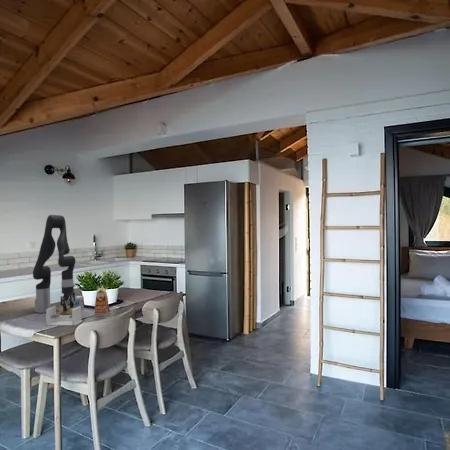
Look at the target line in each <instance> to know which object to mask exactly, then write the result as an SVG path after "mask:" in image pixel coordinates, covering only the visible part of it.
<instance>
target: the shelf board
mask: <svg viewBox="0 0 450 450" xmlns="http://www.w3.org/2000/svg"><path fill="white" fill-rule="evenodd" d="M72 309H75V308H67V311H63V307H58V308H56V315H60V314H72Z"/></svg>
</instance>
